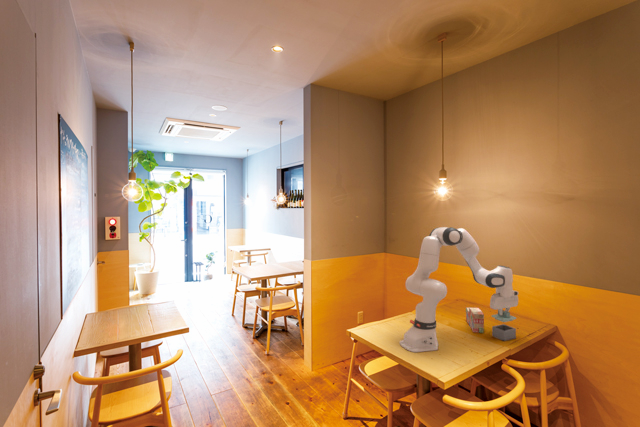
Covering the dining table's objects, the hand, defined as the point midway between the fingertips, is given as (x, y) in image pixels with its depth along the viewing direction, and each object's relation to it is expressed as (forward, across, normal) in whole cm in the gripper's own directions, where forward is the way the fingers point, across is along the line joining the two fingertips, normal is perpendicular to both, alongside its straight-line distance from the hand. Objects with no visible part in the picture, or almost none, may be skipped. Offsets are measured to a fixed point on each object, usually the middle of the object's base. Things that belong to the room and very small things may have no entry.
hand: (503, 314), depth 191 cm
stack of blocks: (+14, -2, +20) cm, 25 cm away
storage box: (+14, 0, 0) cm, 14 cm away
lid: (+3, 0, 0) cm, 3 cm away
